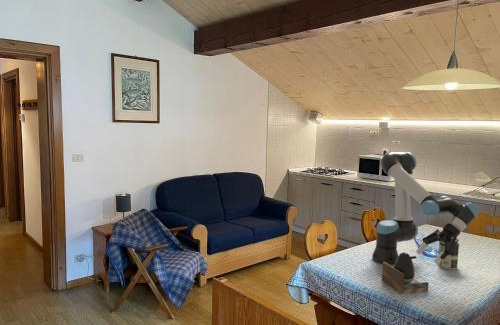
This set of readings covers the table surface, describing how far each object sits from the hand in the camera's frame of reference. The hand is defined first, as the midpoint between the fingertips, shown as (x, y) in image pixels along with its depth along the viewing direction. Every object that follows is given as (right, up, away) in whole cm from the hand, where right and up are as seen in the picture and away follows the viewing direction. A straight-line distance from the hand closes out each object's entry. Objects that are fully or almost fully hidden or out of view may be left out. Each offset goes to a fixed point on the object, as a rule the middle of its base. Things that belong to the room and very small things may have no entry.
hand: (426, 257), depth 193 cm
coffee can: (+25, -12, +27) cm, 38 cm away
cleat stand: (-11, -14, -1) cm, 18 cm away
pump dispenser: (-12, -12, -1) cm, 17 cm away
